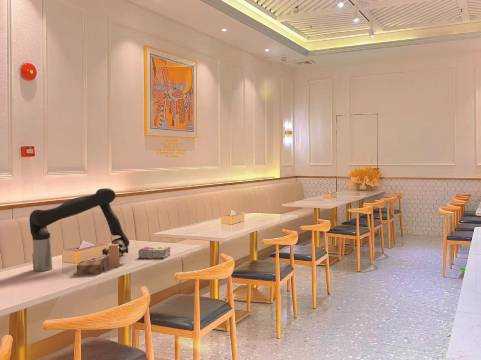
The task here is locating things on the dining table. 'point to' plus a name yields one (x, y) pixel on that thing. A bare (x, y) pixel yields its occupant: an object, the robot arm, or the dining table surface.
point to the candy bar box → (154, 252)
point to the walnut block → (90, 267)
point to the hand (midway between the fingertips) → (114, 253)
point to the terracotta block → (114, 255)
